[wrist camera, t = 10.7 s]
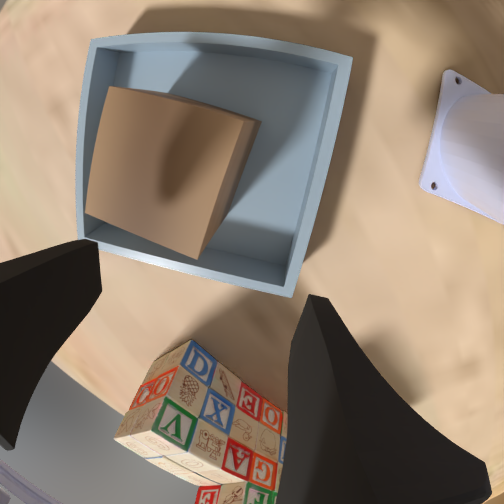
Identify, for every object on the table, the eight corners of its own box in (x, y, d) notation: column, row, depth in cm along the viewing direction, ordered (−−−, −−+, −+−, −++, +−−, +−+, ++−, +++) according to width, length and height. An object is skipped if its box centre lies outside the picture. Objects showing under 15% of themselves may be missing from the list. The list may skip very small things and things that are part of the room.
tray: (343, 68, 13) (353, 57, 11) (292, 272, 19) (291, 298, 16) (117, 46, 14) (91, 39, 11) (102, 227, 20) (78, 243, 17)
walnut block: (262, 121, 15) (243, 121, 9) (227, 214, 17) (197, 259, 12) (167, 92, 15) (109, 85, 9) (142, 182, 17) (85, 212, 12)
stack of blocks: (151, 360, 25) (96, 467, 14) (192, 336, 23) (135, 468, 12) (287, 453, 30) (278, 537, 19) (330, 441, 28) (328, 533, 17)
